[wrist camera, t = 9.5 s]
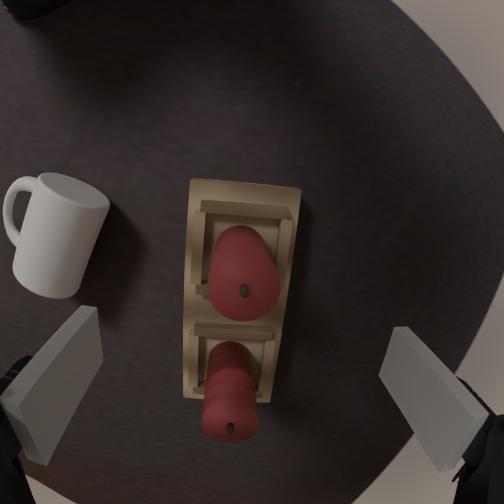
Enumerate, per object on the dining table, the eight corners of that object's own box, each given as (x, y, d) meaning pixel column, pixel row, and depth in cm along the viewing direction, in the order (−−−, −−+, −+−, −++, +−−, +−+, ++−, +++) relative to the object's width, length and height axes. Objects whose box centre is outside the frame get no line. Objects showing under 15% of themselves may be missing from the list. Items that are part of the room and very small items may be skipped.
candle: (217, 223, 29) (208, 253, 19) (267, 227, 29) (287, 259, 19) (213, 271, 30) (204, 324, 20) (262, 275, 31) (277, 329, 20)
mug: (121, 202, 31) (90, 213, 23) (90, 281, 33) (57, 310, 25) (39, 156, 29) (-4, 157, 21) (14, 233, 31) (-26, 250, 23)
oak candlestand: (194, 178, 31) (165, 186, 18) (295, 187, 32) (338, 203, 18) (186, 381, 37) (171, 467, 23) (267, 387, 38) (281, 473, 24)
